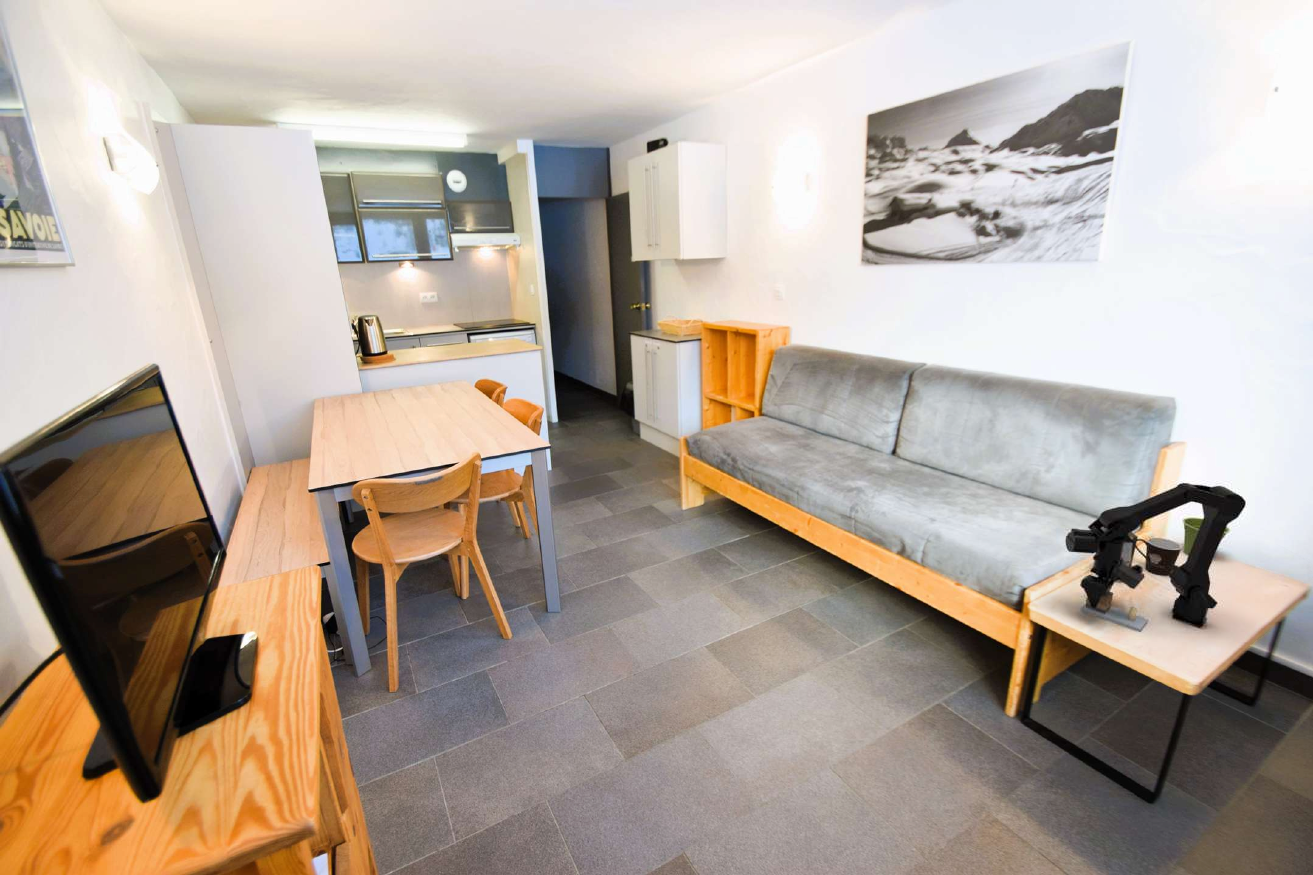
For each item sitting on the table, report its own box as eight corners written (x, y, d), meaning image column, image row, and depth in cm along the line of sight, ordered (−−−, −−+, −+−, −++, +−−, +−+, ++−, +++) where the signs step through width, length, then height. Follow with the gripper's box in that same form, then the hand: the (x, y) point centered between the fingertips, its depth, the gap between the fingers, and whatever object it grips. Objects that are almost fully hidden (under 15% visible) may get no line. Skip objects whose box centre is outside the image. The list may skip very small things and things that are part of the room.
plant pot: (1190, 562, 196) (1198, 531, 192) (1167, 546, 207) (1174, 516, 203) (1231, 564, 194) (1239, 533, 190) (1205, 547, 205) (1212, 518, 201)
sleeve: (1091, 601, 175) (1093, 586, 173) (1110, 607, 171) (1113, 592, 170) (1085, 606, 172) (1088, 592, 170) (1104, 614, 168) (1107, 598, 167)
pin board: (1147, 622, 165) (1150, 608, 164) (1140, 632, 161) (1143, 618, 160) (1089, 601, 176) (1091, 588, 175) (1081, 610, 172) (1083, 597, 171)
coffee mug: (1182, 577, 187) (1189, 549, 184) (1155, 578, 187) (1161, 550, 184) (1153, 559, 198) (1159, 533, 195) (1127, 560, 198) (1133, 533, 195)
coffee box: (1129, 583, 185) (1139, 537, 180) (1106, 581, 186) (1115, 535, 182) (1113, 568, 194) (1122, 524, 189) (1091, 567, 195) (1100, 523, 190)
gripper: (1133, 575, 155) (1122, 626, 159) (1153, 553, 166) (1142, 601, 170) (1084, 560, 163) (1075, 609, 168) (1106, 540, 174) (1097, 586, 179)
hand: (1099, 601), depth 171 cm, fingers open, 9 cm apart
